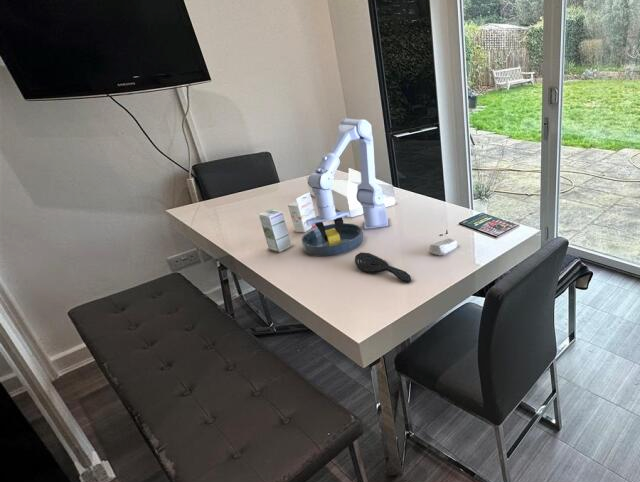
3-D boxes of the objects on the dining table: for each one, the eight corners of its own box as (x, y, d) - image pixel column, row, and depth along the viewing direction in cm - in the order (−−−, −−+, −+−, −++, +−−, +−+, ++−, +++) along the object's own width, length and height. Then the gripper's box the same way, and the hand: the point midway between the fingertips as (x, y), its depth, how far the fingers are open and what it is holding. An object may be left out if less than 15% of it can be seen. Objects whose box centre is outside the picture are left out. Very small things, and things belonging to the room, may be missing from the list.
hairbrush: (399, 280, 125) (348, 255, 137) (400, 290, 127) (349, 265, 139) (419, 268, 131) (368, 246, 144) (419, 278, 133) (369, 255, 145)
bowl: (363, 229, 168) (362, 220, 166) (363, 251, 149) (361, 241, 147) (307, 236, 161) (305, 227, 160) (300, 261, 143) (297, 250, 141)
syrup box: (292, 246, 154) (283, 210, 148) (278, 252, 149) (268, 216, 143) (282, 243, 156) (272, 208, 150) (268, 250, 151) (257, 214, 145)
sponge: (336, 237, 157) (334, 228, 155) (341, 243, 151) (339, 234, 150) (325, 240, 154) (323, 230, 153) (330, 246, 149) (327, 237, 148)
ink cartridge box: (307, 223, 173) (300, 190, 168) (318, 224, 173) (310, 191, 167) (294, 231, 166) (285, 197, 160) (304, 232, 165) (296, 198, 159)
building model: (310, 194, 208) (306, 176, 204) (351, 184, 223) (348, 167, 219) (351, 217, 179) (347, 197, 175) (395, 204, 194) (392, 185, 190)
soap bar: (451, 253, 154) (451, 238, 154) (461, 254, 150) (461, 238, 150) (428, 254, 147) (428, 238, 147) (439, 255, 143) (439, 239, 143)
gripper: (343, 197, 154) (349, 230, 159) (301, 206, 146) (309, 239, 151) (348, 202, 148) (354, 236, 154) (305, 211, 141) (313, 246, 146)
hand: (332, 238), depth 152 cm, fingers closed on sponge, 4 cm apart
